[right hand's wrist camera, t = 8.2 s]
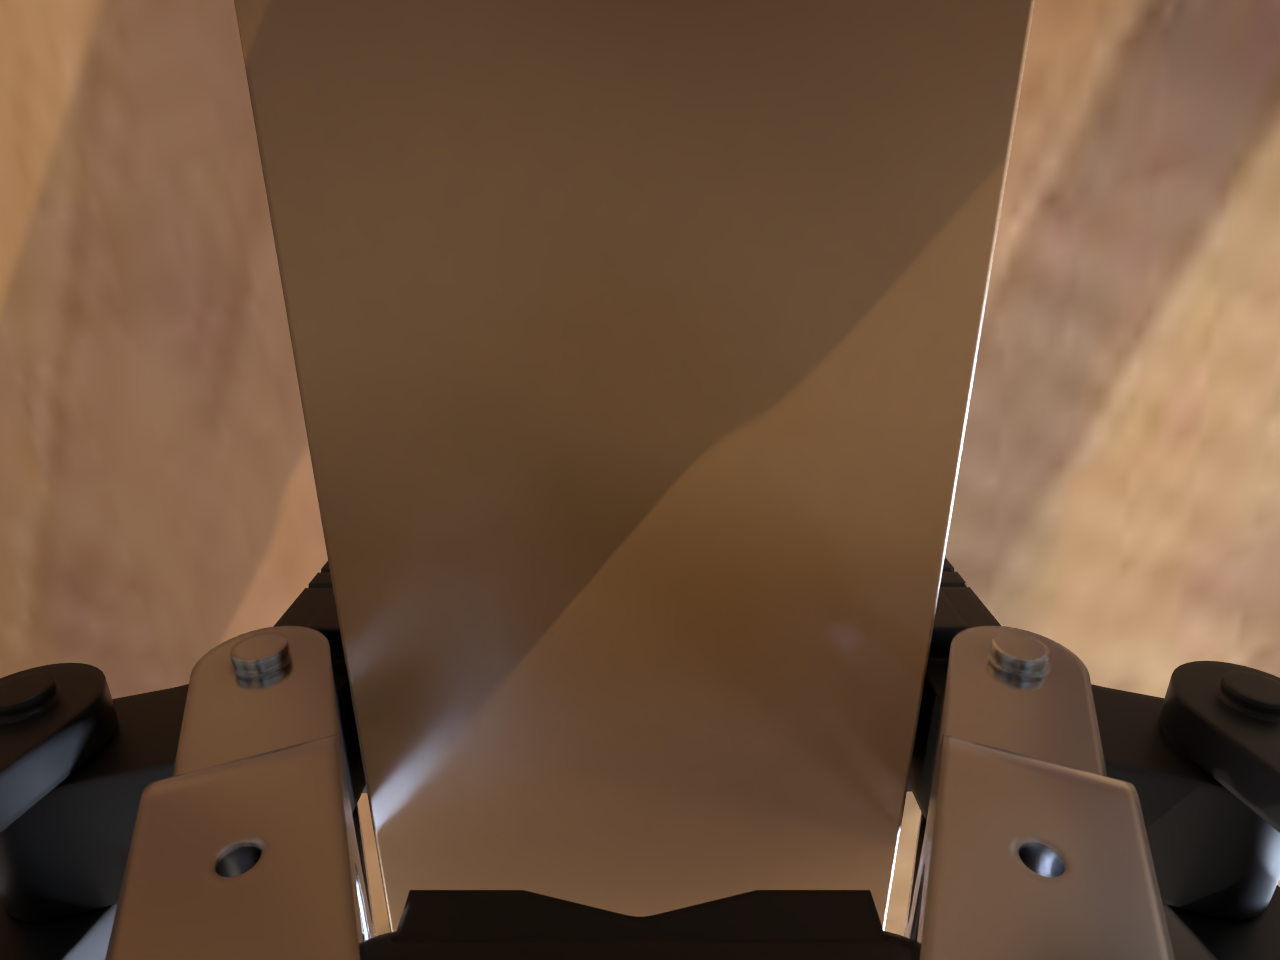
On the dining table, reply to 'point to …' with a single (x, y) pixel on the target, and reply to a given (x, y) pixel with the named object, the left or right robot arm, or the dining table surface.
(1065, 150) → the dining table surface
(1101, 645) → the dining table surface
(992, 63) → the bar
